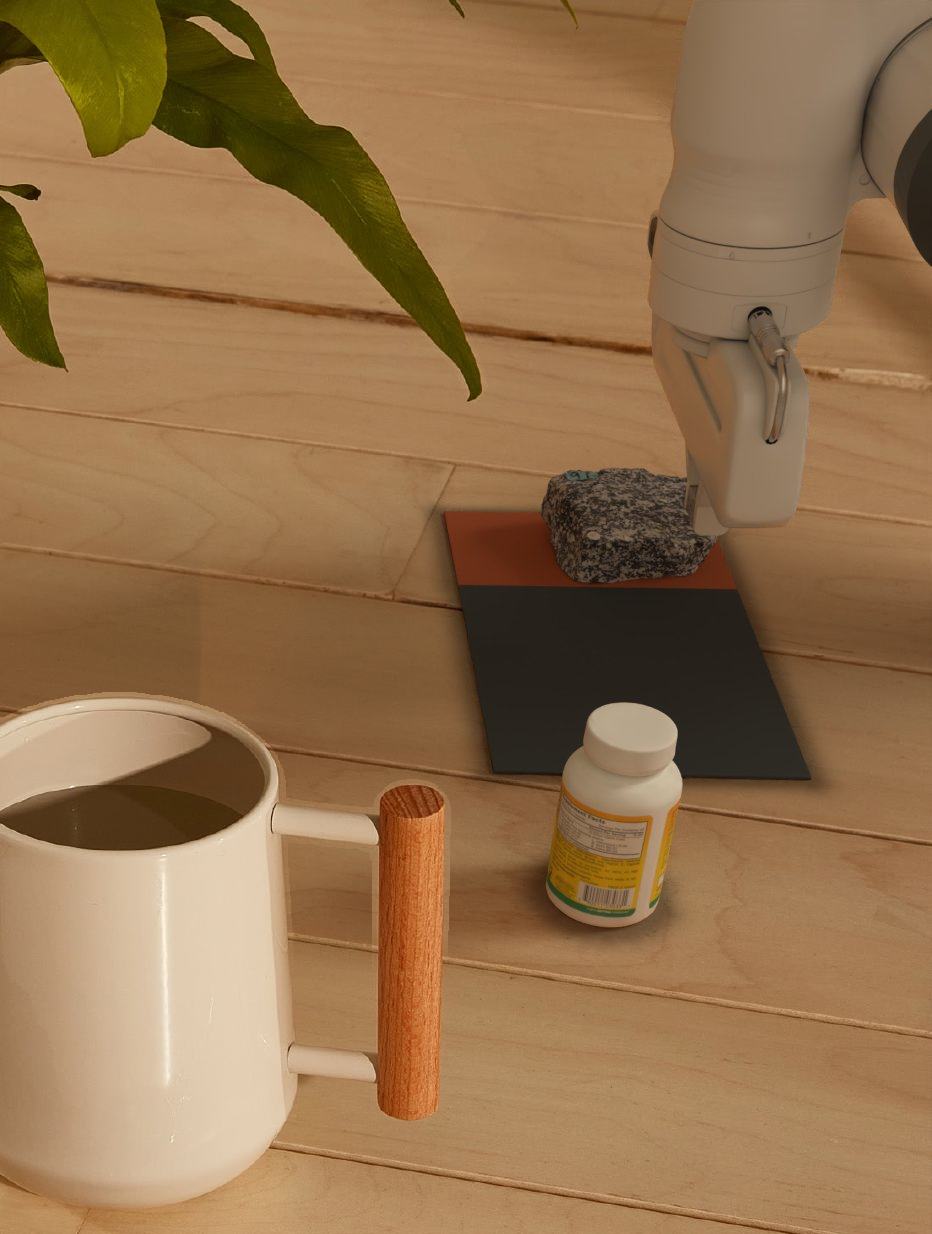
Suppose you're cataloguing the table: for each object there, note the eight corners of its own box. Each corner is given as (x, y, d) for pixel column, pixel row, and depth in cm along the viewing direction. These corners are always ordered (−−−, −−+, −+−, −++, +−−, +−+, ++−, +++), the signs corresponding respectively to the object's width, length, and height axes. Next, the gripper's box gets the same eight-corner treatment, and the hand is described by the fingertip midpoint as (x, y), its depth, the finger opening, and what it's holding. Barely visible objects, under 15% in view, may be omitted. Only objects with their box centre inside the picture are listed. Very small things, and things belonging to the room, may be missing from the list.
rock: (736, 580, 125) (749, 516, 123) (563, 586, 125) (573, 522, 122) (699, 518, 131) (711, 455, 129) (534, 523, 131) (542, 460, 129)
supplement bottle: (593, 944, 99) (623, 772, 94) (520, 882, 103) (545, 713, 97) (683, 909, 101) (718, 738, 96) (609, 849, 105) (639, 682, 99)
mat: (707, 517, 132) (708, 515, 132) (811, 779, 110) (811, 777, 110) (444, 513, 133) (444, 511, 132) (493, 773, 110) (493, 771, 110)
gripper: (859, 358, 98) (809, 621, 107) (764, 199, 115) (727, 438, 123) (719, 361, 99) (680, 623, 107) (644, 202, 115) (615, 440, 123)
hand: (704, 523), depth 115 cm, fingers closed
